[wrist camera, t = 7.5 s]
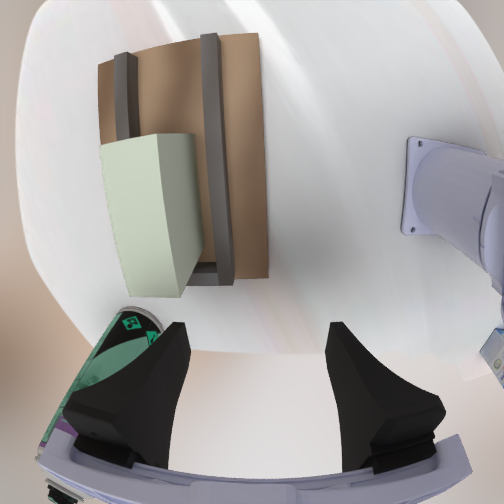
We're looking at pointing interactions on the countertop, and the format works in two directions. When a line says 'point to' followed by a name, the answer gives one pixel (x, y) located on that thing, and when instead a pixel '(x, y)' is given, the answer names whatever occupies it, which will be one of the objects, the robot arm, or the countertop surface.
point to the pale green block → (154, 211)
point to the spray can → (96, 369)
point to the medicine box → (495, 354)
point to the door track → (202, 137)
